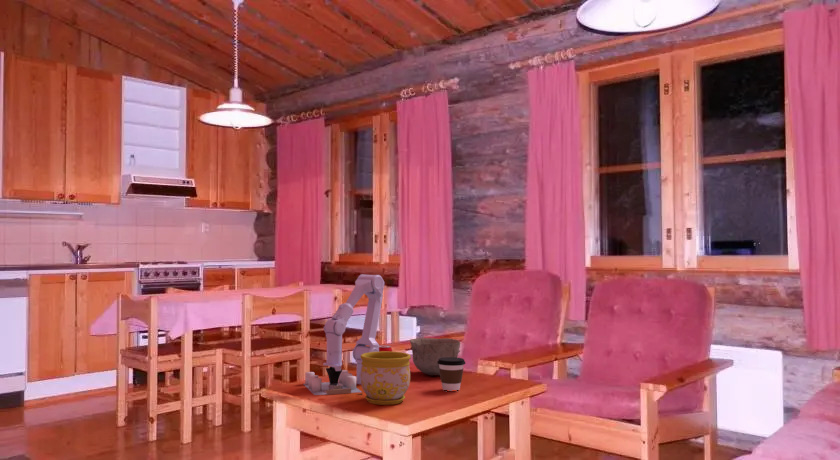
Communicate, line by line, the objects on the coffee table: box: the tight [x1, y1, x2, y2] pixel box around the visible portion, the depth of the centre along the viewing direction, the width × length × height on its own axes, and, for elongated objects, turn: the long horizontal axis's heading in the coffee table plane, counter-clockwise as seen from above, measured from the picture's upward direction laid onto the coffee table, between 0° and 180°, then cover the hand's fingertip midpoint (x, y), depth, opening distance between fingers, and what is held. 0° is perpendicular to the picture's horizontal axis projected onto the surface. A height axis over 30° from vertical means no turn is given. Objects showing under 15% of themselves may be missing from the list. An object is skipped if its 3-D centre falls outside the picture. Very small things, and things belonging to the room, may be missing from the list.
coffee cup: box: [437, 356, 466, 391], centre depth 257 cm, size 11×11×12 cm
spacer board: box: [303, 369, 363, 396], centre depth 254 cm, size 18×23×6 cm
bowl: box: [409, 337, 461, 376], centre depth 289 cm, size 22×22×15 cm
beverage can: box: [379, 344, 393, 352], centre depth 291 cm, size 6×6×12 cm
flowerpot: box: [360, 351, 412, 406], centre depth 237 cm, size 18×18×16 cm
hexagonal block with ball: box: [329, 383, 343, 390], centre depth 248 cm, size 5×5×3 cm
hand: (333, 387), depth 251 cm, fingers closed
